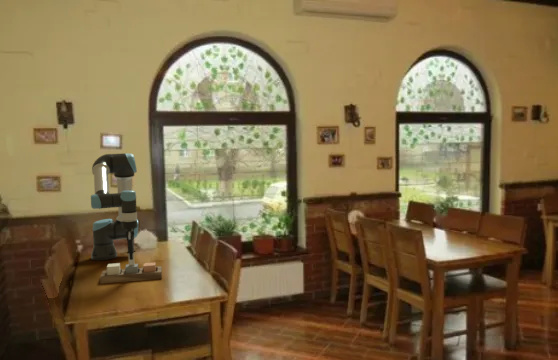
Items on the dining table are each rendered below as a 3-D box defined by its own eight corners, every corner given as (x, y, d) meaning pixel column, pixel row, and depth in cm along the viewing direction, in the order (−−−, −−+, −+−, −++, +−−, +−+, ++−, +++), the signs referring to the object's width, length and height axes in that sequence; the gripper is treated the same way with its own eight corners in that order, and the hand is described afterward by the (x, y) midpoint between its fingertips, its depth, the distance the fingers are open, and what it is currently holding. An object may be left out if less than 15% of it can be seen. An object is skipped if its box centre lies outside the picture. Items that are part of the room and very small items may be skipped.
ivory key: (108, 272, 252) (108, 264, 252) (120, 271, 253) (120, 263, 253) (107, 275, 246) (106, 267, 246) (119, 274, 248) (119, 266, 247)
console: (103, 276, 255) (103, 270, 254) (161, 272, 261) (161, 265, 261) (100, 283, 243) (100, 276, 243) (161, 278, 250) (161, 271, 249)
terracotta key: (144, 271, 256) (143, 263, 256) (155, 270, 258) (155, 262, 257) (143, 274, 250) (143, 266, 250) (155, 273, 252) (155, 265, 251)
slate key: (126, 272, 254) (126, 264, 254) (138, 271, 256) (138, 263, 255) (125, 276, 248) (125, 267, 248) (137, 275, 250) (137, 266, 249)
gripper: (123, 218, 255) (125, 262, 257) (120, 223, 242) (123, 268, 244) (137, 218, 257) (139, 261, 259) (136, 222, 244) (138, 267, 246)
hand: (131, 265), depth 251 cm, fingers closed
